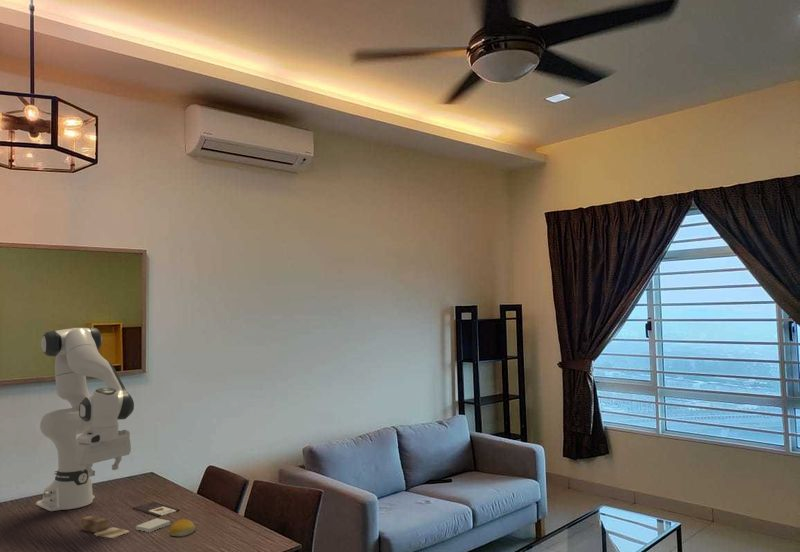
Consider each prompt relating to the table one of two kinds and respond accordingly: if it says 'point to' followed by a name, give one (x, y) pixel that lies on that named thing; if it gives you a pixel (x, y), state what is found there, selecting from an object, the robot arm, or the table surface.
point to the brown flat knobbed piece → (100, 527)
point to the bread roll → (182, 528)
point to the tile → (153, 525)
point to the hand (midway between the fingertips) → (103, 472)
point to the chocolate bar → (155, 509)
